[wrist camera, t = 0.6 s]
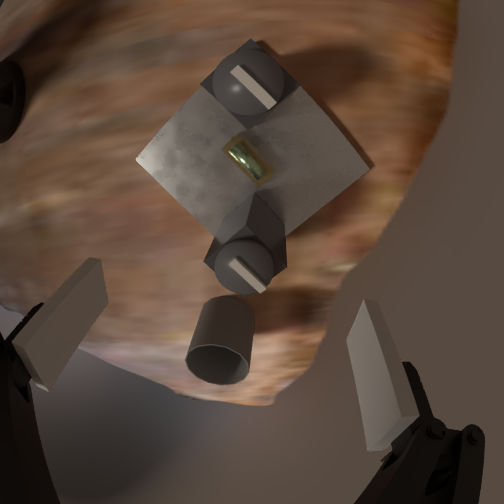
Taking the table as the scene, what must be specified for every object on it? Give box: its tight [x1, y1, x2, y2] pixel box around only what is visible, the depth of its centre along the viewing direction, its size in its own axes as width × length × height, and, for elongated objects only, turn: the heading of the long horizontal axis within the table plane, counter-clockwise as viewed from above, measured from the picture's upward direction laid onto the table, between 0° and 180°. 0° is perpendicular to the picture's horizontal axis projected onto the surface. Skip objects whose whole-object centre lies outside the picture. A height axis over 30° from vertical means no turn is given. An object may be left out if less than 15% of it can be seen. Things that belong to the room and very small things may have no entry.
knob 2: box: [203, 193, 287, 298], centre depth 30 cm, size 5×5×11 cm
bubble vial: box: [221, 133, 275, 188], centre depth 31 cm, size 6×2×3 cm, turn 43°
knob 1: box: [200, 39, 300, 130], centre depth 23 cm, size 5×5×11 cm
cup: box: [185, 296, 255, 385], centre depth 40 cm, size 8×8×10 cm
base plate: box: [136, 86, 370, 237], centre depth 32 cm, size 20×20×1 cm
